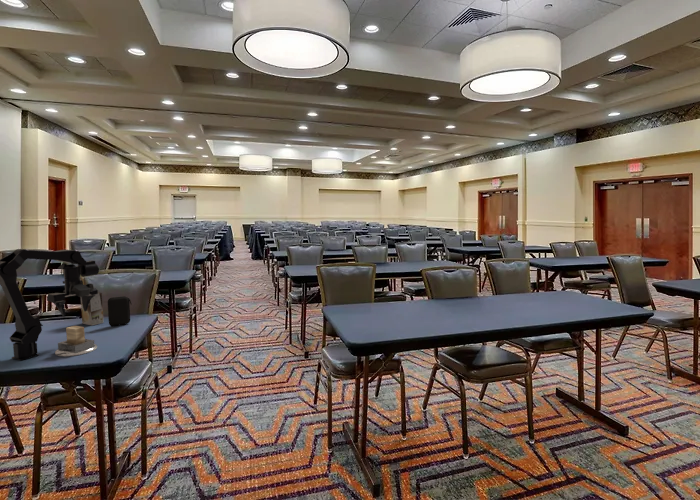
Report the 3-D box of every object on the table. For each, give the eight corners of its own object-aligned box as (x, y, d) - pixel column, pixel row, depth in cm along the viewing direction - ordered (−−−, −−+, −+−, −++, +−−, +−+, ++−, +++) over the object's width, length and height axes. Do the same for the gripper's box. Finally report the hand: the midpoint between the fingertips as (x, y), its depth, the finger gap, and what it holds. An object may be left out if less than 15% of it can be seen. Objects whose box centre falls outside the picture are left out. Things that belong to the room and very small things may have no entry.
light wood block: (76, 350, 166) (75, 329, 165) (67, 349, 168) (66, 327, 168) (85, 348, 169) (84, 327, 168) (75, 346, 172) (74, 325, 171)
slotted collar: (70, 358, 160) (69, 349, 159) (47, 353, 165) (46, 344, 165) (104, 347, 173) (104, 338, 172) (82, 343, 178) (81, 335, 178)
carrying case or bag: (132, 322, 213) (130, 295, 212) (133, 323, 210) (131, 295, 209) (108, 326, 206) (106, 297, 205) (109, 327, 204) (107, 298, 203)
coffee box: (104, 322, 213) (102, 292, 212) (91, 325, 207) (89, 294, 206) (93, 320, 217) (92, 291, 216) (81, 323, 212) (79, 293, 210)
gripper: (61, 283, 165) (64, 320, 166) (105, 276, 182) (107, 310, 183) (44, 281, 169) (47, 318, 171) (88, 275, 186) (91, 308, 188)
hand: (74, 313), depth 178 cm, fingers open, 9 cm apart
